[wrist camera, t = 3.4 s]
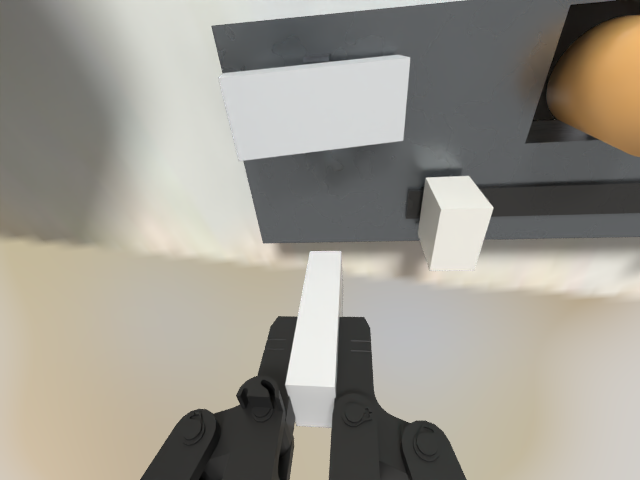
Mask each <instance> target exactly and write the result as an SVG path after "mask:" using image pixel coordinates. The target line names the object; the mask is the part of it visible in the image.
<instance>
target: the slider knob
mask: <svg viewBox="0 0 640 480" xmlns="http://www.w3.org/2000/svg"><path fill="white" fill-rule="evenodd" d="M492 211H493V206H492V205H491V204H490V202H489V201H488V200H487V199H486V197H485V196H484V195H483V193H482V192H481V191H480V189H479V188H478V187H477V186H476V184H475V183H474V182H473V180H472V179H471V178H470V177H469V176H453V177H427V178H426V179H425V186H424V193H423V200H422V207H421V214H420V221H419V229H418V236H419V239H420V242H421V245H422V249H423V252H424V255H425V258H426V261H427V264H428V267H429V270H430V271H475V267H476V264H477V261H478V257H479V254H480V251H481V247H482V244H483V241H484V238H485V234H486V231H487V228H488V224H489V221H490V218H491V215H492Z"/></svg>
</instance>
